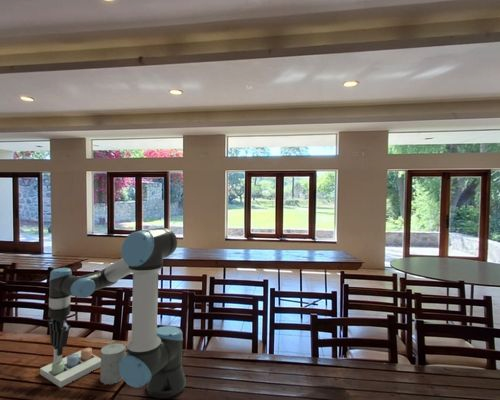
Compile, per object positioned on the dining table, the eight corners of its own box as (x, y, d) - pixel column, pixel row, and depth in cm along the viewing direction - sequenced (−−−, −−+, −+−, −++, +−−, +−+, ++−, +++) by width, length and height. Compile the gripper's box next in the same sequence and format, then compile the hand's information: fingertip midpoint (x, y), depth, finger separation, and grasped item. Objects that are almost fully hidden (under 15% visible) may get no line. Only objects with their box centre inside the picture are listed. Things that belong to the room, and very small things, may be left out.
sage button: (66, 372, 121) (66, 362, 121) (55, 378, 118) (55, 367, 117) (60, 369, 124) (60, 359, 123) (49, 374, 120) (49, 364, 120)
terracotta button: (93, 359, 132) (94, 349, 132) (84, 364, 128) (84, 353, 128) (88, 356, 134) (88, 346, 134) (78, 360, 130) (78, 351, 130)
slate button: (80, 365, 127) (80, 355, 127) (70, 370, 123) (70, 360, 123) (75, 362, 129) (75, 352, 129) (64, 367, 125) (64, 357, 125)
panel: (103, 365, 130) (103, 359, 130) (60, 387, 114) (60, 381, 114) (82, 354, 138) (82, 349, 138) (40, 374, 122) (40, 368, 122)
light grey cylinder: (129, 371, 126) (130, 343, 126) (117, 385, 116) (118, 355, 116) (108, 369, 127) (109, 341, 127) (94, 383, 117) (95, 353, 117)
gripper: (77, 306, 120) (75, 362, 121) (60, 300, 127) (58, 353, 127) (58, 312, 114) (56, 371, 114) (41, 305, 120) (39, 361, 121)
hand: (57, 362), depth 121 cm, fingers closed
